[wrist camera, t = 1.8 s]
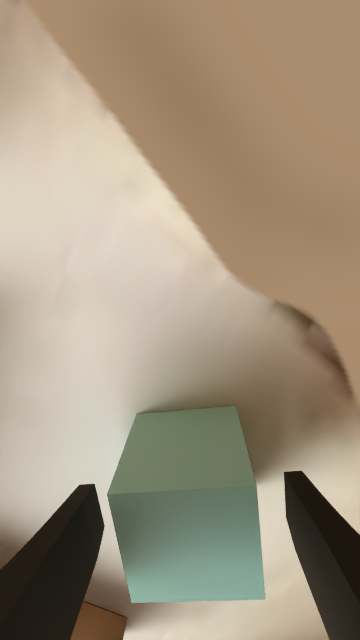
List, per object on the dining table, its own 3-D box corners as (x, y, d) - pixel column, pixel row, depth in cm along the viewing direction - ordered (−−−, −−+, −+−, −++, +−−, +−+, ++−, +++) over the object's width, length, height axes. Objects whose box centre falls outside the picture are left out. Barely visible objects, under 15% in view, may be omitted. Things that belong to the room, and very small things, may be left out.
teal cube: (235, 404, 13) (256, 485, 8) (243, 488, 14) (265, 599, 9) (136, 412, 13) (107, 494, 9) (151, 493, 14) (131, 603, 10)
